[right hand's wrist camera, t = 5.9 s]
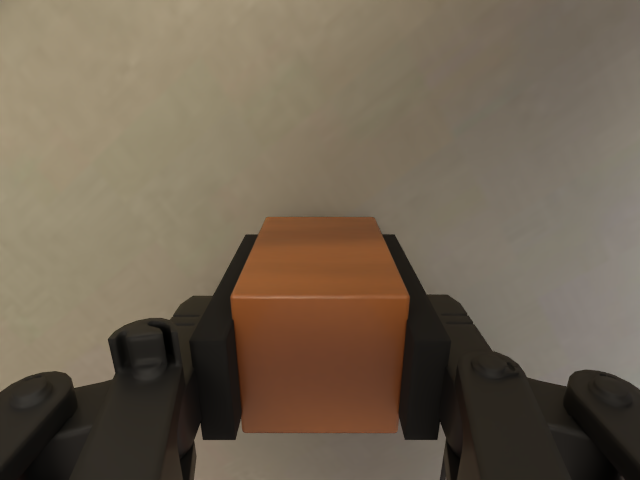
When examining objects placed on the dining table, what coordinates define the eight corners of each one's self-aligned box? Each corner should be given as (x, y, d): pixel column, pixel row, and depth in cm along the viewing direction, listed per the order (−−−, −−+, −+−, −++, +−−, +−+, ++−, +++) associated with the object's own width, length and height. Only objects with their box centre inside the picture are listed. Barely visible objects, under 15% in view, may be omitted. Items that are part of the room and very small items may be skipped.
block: (265, 216, 14) (228, 295, 8) (375, 216, 14) (411, 296, 8) (270, 311, 15) (241, 434, 10) (370, 312, 15) (398, 434, 10)
